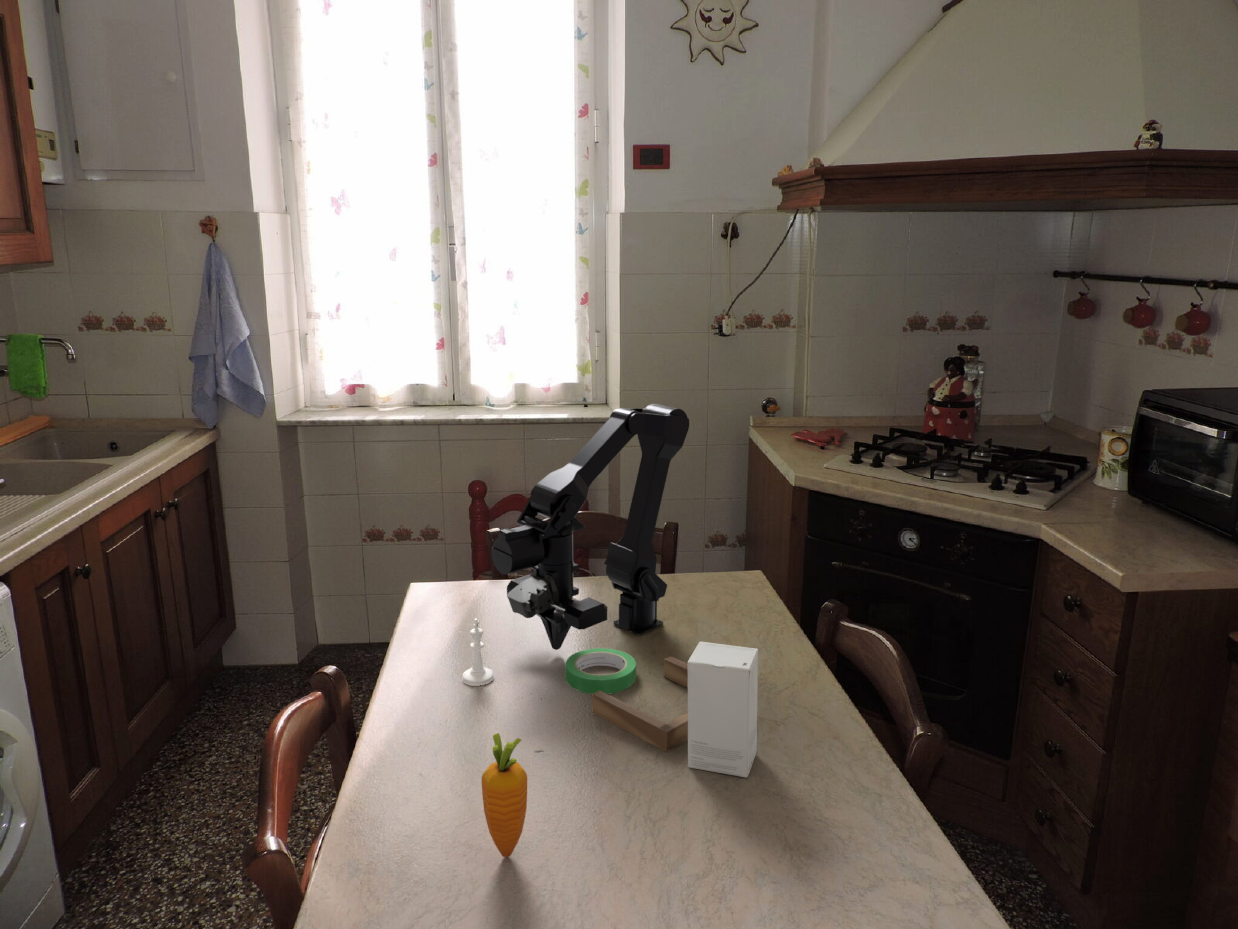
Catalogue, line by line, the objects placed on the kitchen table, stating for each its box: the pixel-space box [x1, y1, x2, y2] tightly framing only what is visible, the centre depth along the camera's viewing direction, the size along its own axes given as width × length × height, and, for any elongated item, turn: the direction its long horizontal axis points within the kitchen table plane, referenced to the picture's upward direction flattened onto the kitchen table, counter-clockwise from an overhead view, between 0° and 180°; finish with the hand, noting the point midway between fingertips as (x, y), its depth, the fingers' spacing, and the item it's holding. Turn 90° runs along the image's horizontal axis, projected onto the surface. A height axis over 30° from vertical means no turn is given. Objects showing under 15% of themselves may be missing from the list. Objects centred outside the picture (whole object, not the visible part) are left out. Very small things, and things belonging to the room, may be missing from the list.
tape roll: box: [564, 647, 637, 695], centre depth 144 cm, size 11×11×3 cm
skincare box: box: [687, 641, 759, 778], centre depth 120 cm, size 8×7×16 cm
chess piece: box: [461, 618, 495, 687], centre depth 142 cm, size 5×5×10 cm
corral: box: [591, 656, 688, 753], centre depth 134 cm, size 17×14×3 cm
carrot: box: [481, 732, 528, 859], centre depth 101 cm, size 5×5×15 cm
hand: (556, 648), depth 151 cm, fingers closed
